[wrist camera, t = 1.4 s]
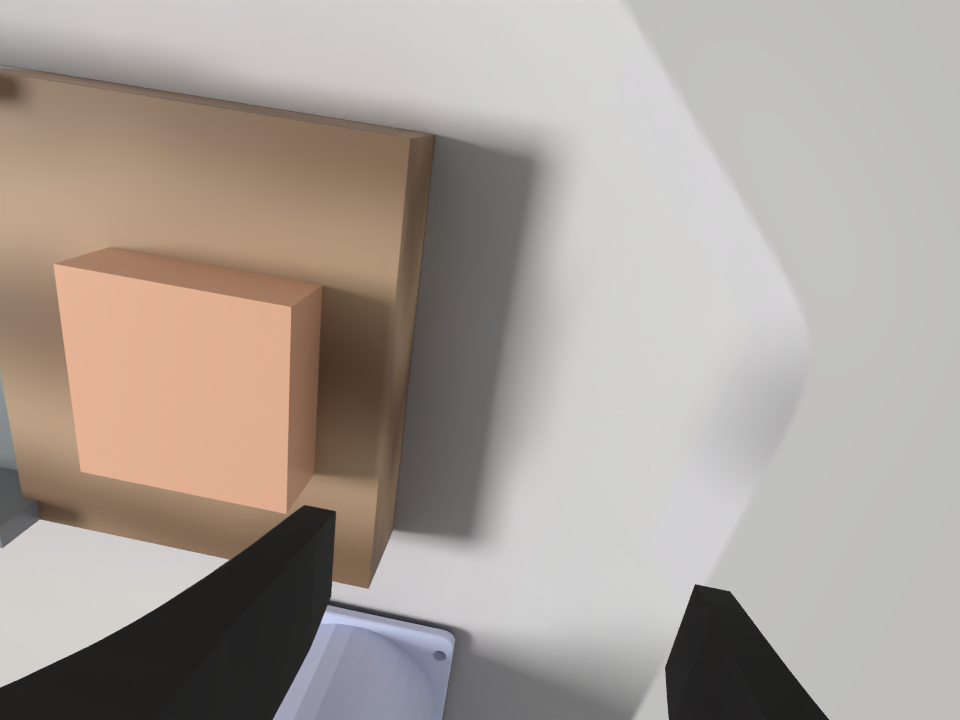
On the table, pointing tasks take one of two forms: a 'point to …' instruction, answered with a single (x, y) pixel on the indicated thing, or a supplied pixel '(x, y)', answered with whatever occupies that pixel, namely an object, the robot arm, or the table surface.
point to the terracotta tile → (192, 375)
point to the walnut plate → (219, 242)
